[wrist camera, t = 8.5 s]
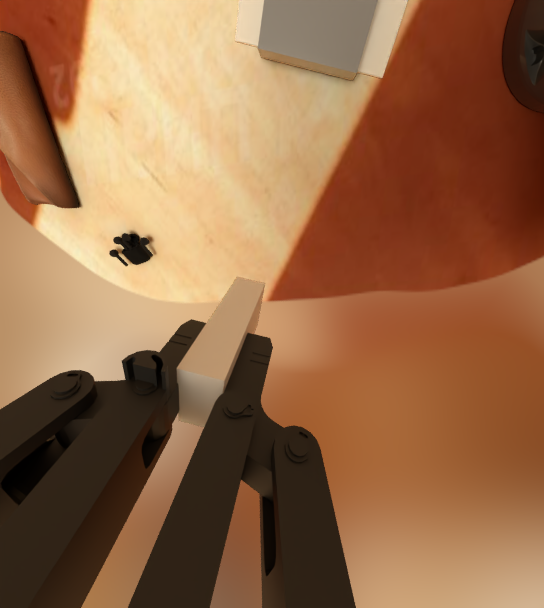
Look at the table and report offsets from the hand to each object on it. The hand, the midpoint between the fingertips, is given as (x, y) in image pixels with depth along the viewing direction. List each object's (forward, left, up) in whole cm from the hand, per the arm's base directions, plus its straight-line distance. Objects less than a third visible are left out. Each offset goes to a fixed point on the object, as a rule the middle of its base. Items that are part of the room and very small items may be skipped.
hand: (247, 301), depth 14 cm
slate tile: (+1, -16, -23) cm, 27 cm away
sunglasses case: (+35, -3, -25) cm, 43 cm away
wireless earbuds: (+21, +9, -25) cm, 34 cm away
